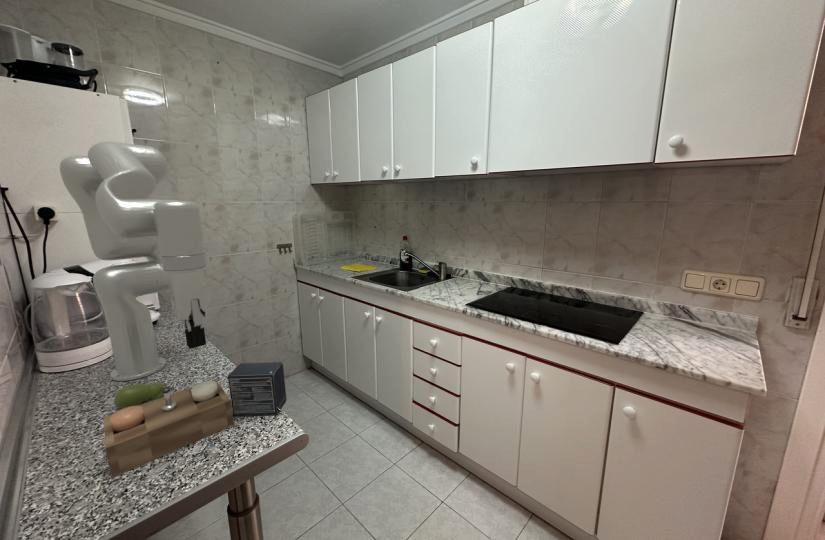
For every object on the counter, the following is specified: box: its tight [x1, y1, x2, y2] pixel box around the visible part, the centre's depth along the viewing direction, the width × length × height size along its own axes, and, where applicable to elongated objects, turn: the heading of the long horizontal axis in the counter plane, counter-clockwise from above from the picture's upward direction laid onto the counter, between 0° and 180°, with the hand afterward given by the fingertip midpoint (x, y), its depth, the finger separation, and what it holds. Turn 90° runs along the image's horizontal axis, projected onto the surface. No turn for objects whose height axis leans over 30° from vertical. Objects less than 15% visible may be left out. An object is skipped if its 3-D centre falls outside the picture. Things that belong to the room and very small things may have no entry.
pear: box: [114, 382, 168, 410], centre depth 79 cm, size 6×5×10 cm
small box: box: [226, 361, 287, 418], centre depth 76 cm, size 11×6×10 cm, turn 92°
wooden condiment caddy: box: [103, 379, 235, 478], centre depth 68 cm, size 12×20×6 cm, turn 134°
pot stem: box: [162, 386, 177, 412], centre depth 67 cm, size 2×2×5 cm
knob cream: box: [191, 380, 218, 404], centre depth 72 cm, size 5×5×8 cm
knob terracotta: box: [110, 405, 144, 433], centre depth 63 cm, size 5×5×8 cm
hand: (196, 345), depth 70 cm, fingers closed
